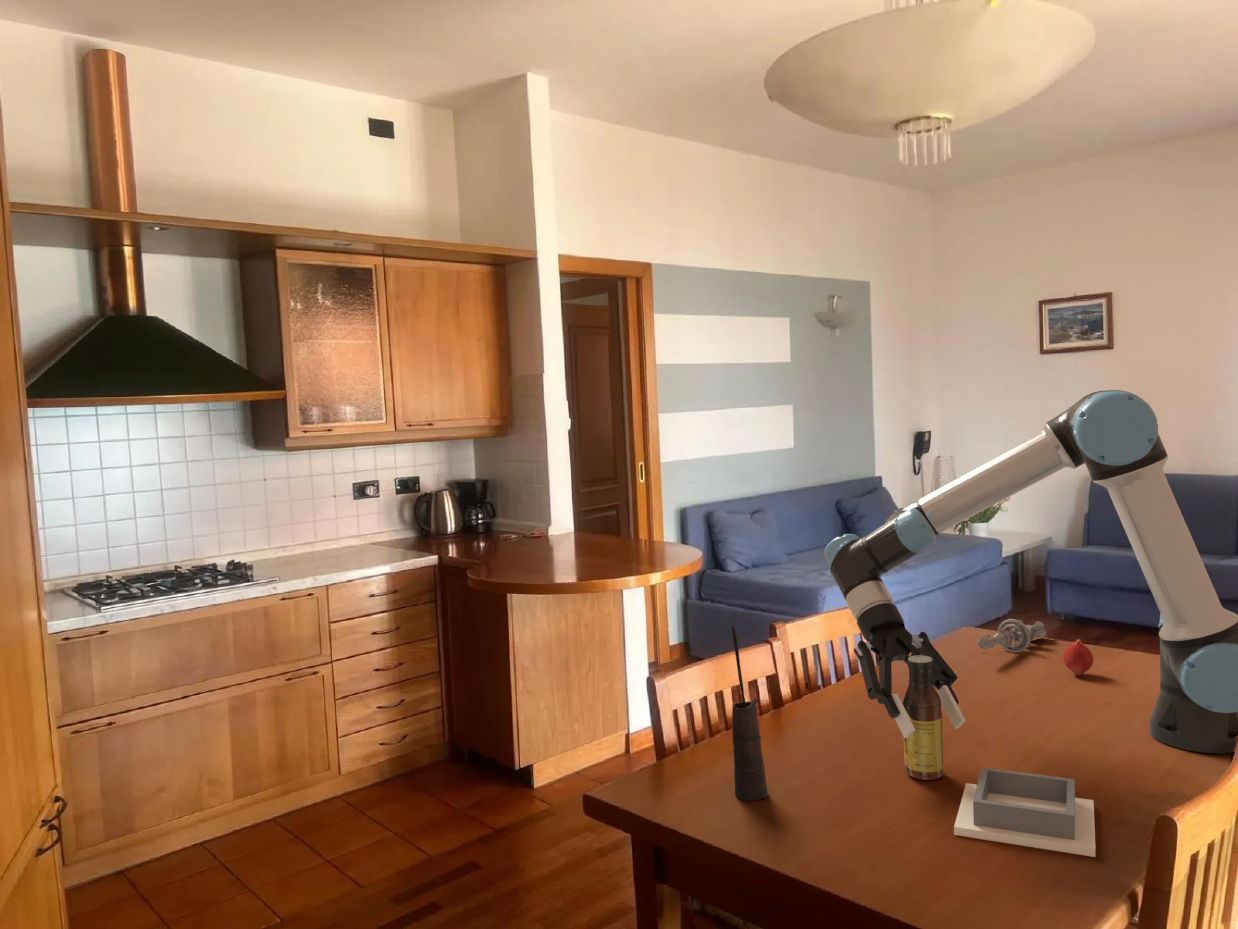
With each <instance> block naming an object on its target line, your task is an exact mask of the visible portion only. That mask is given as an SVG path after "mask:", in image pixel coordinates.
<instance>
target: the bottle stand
mask: <svg viewBox="0 0 1238 929" xmlns="http://www.w3.org/2000/svg"><path fill="white" fill-rule="evenodd" d="M1075 780H1076V779H1075V778H1070V777H1069V778H1068V777H1064V776H1063V777H1062V776H1054V775H1045V774H1038V773H1037V774H1036V773H1030V772H1022V771H1021V772H1020V771H1013V770H1005V769H997V768H989V767H983V766H982V767H981V769H980V771H979V776H978V781H977V784H975V783H967V782H966V783H965V786H964V790H963V792H962V793H963V794H962V796H961V801H960V804H959V808H958V811H957V815H956V818H955V822H954V826H953V833H954V834H953V835H954V836H957V837H958V836H960V837H967V838H972V839H979V840H985V841H990V842H991V841H992V842H997V843H998V842H999V843H1003V844H1008V845H1009V844H1010V845H1018V846H1023V847H1028V848H1030V847H1031V848H1035V849H1041V850H1042V849H1043V850H1049V851H1055V852H1061V853H1067V854H1074V855H1079V856H1086V857H1093V858H1096V830H1095V829H1096V828H1095V825H1096V824H1095V807H1094V806H1095V802H1094V799H1087V798H1080V797H1076V785H1075V782H1076V781H1075Z"/></svg>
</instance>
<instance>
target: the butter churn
mask: <svg viewBox="0 0 1238 929" xmlns="http://www.w3.org/2000/svg"><path fill="white" fill-rule="evenodd" d="M735 628H736V627H735V625H734V624H732V625H731V631H732V633H731V634H732V639H733V640H732V642H733V647H734V653H735V660H736V667H737V675H738V684H739V690H740V696H741V701H739V702H736V703H734V702H733V703H732V708H731V709H732V712H731V714H732V715H731V716H732V718H731V720H732V722H731V723H732V724H731V725H732V726H731V729H732V739H731V740H732V744H733V749H732V752H733V770H734V772H733V774H734V795H735V797H736V798H738V799H740V800H741V801H746V802H748V801H749V802H750V801H760V800H761V799H763V798H766V797H767V796H768V795H769V791H768V784H767V779H766V772H765V765H764V759H763V758H764V756H763V751H762V742H761V739H762V736H761V735H760V733H761V732H760V724H759V718H758V708H757V703H758V701H759V698H752V700H751V701H746V697H745V689H744V683H743V674H742V669H741V663H740V660H741V659H740V653H739V645H738V638H737V634H736V630H735Z"/></svg>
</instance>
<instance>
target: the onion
mask: <svg viewBox="0 0 1238 929" xmlns="http://www.w3.org/2000/svg"><path fill="white" fill-rule="evenodd" d="M1063 663H1064V665H1065V666H1066V668H1067V669H1068V670H1070V671H1071V672H1072V673H1074V674H1075V675H1076V676H1078V677H1080V676H1083V675H1084V674H1085V673H1086V672H1088V671H1089V670H1090V669H1091V668H1092V667H1093V663H1094V656H1093V653H1092V651H1091V649H1089V648H1088V647H1087V646H1086V645H1084V644H1083V643H1082V640H1081V639H1076V641H1075V642H1073V643H1071V644H1070V645H1068V647H1067V648H1066V650H1065V651H1064V653H1063Z"/></svg>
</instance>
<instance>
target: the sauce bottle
mask: <svg viewBox="0 0 1238 929" xmlns="http://www.w3.org/2000/svg"><path fill="white" fill-rule="evenodd" d="M910 656H911V655H910ZM907 667H908V675H909V676H908V678H909V679H908V686H907V688H906V692H905V694H904V698H903V701H902V704H903V706H904V708H905V710H906V712H907V714H908V716H909V718H910V720H911V722H912V724H913V726H914V728H915V731H914V732H913V733H912V734H911V735H910V736H909V737H908V738H904V736H903V735H902V737H903V754H904V755H903V756H904V758H903V759H904V765H905V771H906V773H907V776H909V777H912V778H915V779H917V780H923V781H935V780H937V779H940V778H942V777H943V775H944V764H945V758H944V757H945V755H944V753H945V752H944V732H943V731H944V729H943V728H944V727H943V713H942V704H941V699H940V696H939V694H938V693H937V692H938V690H936V689H935V688H936V687H935V686H933V673H932V669H933V659H932V658H931V657H929V656H923V655H916V656H911V657H909V658H908V664H907Z"/></svg>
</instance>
